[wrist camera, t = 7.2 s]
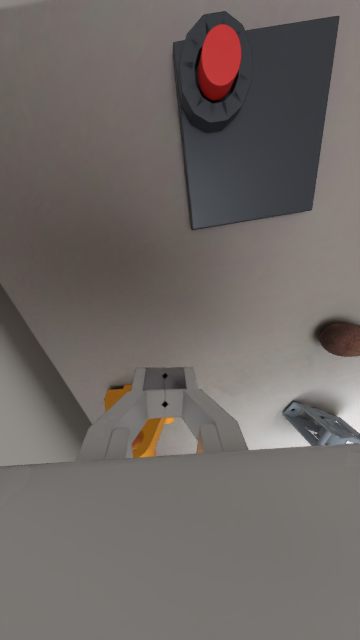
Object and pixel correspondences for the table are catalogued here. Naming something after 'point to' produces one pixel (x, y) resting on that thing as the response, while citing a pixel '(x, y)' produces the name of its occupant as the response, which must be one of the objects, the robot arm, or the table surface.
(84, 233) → the table surface
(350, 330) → the chisel
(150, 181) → the table surface
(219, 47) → the button
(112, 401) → the bracket
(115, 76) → the table surface
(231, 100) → the scale
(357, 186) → the table surface
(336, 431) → the bracket
